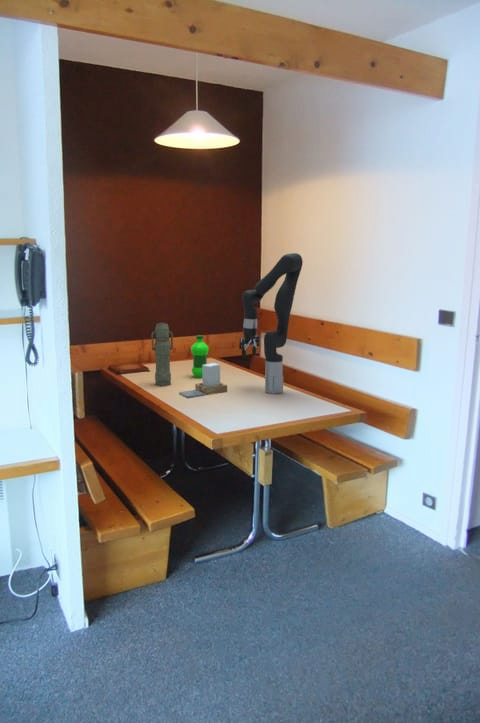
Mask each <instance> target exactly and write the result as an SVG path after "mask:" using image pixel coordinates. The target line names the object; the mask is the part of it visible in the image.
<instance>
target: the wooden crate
mask: <svg viewBox="0 0 480 723" xmlns="http://www.w3.org/2000/svg"><path fill="white" fill-rule="evenodd" d="M195 390H197V391H200V392H202V393H204V394H205V396H206V395H213V394H218V393H219V394H220V393H228V385H227V384H225V383H223V382H220V386H214V387H207V388H206V387H204V386H203V382H201V383H200V382H199V383H195Z"/></svg>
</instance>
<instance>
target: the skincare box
mask: <svg viewBox="0 0 480 723" xmlns="http://www.w3.org/2000/svg"><path fill="white" fill-rule="evenodd" d="M201 379H202V383H203V386H204V387H206V388H207V387H214V386H220V383H221V364H219V363H216V362H211V363H207V364H205V365H202V378H201Z"/></svg>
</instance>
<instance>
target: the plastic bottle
mask: <svg viewBox="0 0 480 723" xmlns="http://www.w3.org/2000/svg"><path fill="white" fill-rule="evenodd" d="M195 339H196V342H195V343H193V344H192V345H191V347H190V351H191V352H190V353H191V354H192V355H193V360H192V362H193V363H192V364H193V366H192V368H191V373H192V374H193V376H194V377H195V378H197V377H198V378H197V379H199V378H200V379H203V378H202V365H205V364H208V362H207V355H208V354H209V350H210V349H209V348H210V347H209V346H208V345H207V343H205V342H204V341H203V340H204V335H201V334H198V335H196V336H195Z"/></svg>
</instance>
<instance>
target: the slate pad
mask: <svg viewBox="0 0 480 723" xmlns="http://www.w3.org/2000/svg"><path fill="white" fill-rule="evenodd" d="M178 394H179V395H180V396H182V397H184V398H186V399H192V398H198V397H204V396H206V395H205V394H204V393H202V392H200V391H197V390H196V389H193V390H192V389H191V390H183V391H179V392H178Z"/></svg>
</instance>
